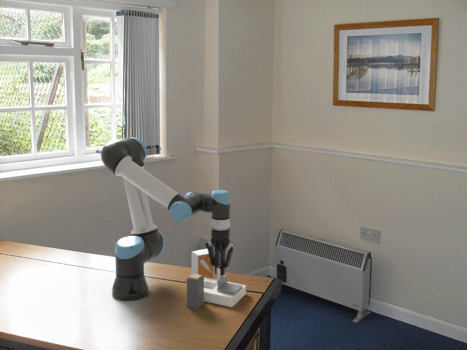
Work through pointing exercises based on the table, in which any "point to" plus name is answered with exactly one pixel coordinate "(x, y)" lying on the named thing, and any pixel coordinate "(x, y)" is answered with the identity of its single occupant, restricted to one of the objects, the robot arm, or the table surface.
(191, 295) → the plug
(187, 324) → the table surface
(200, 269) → the small box
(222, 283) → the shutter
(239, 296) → the socket
